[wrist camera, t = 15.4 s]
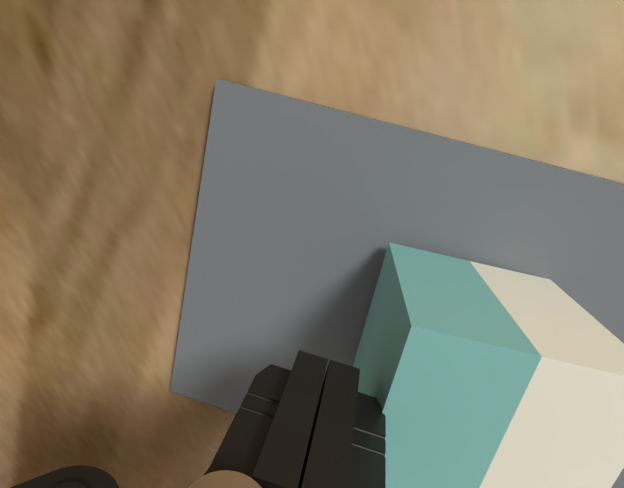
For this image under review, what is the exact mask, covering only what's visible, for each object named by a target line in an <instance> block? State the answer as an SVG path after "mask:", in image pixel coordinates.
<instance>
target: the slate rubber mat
mask: <svg viewBox="0 0 624 488" xmlns="http://www.w3.org/2000/svg"><path fill="white" fill-rule="evenodd" d="M389 242H390V243H394V244H398V245H403V246H407V247H411V248H416V249H420V250H424V251H429V252H433V253H437V254H442V255H446V256H450V257H455V258H459V259H463V260H468V261H472V262H476V263H481V264H485V265H489V266H494V267H498V268H502V269H507V270H511V271H515V272H520V273H524V274H528V275H533V276H537V277H541V278H546V279H550V280H551V281H553V282H554V283H555V284H556V285H557V286H558V287H559V288H561V289H562V290H563V291H564V292H565V293H566V294H567V295H569V296H570V297H571V298H572V299H573V300H574V301H575V302H577V303H578V304H579V305H580V306H581V307H582V308H584V309H585V310H586V311H587V312H588V313H589V314H590V315H592V316H593V317H594V318H595V319H596V320H597V321H598V322H600V323H601V324H602V325H603V326H604V327H605V328H606V329H608V330H609V331H610V332H611V333H612V334H613V335H614V336H616V337H617V338H618V339H619V340H620V341H621V342H622V343H624V184H623V183H619V182H615V181H612V180H608V179H604V178H600V177H596V176H592V175H588V174H584V173H581V172H577V171H573V170H569V169H565V168H561V167H557V166H554V165H550V164H546V163H542V162H538V161H534V160H530V159H526V158H523V157H519V156H515V155H511V154H507V153H503V152H499V151H496V150H492V149H488V148H484V147H480V146H476V145H472V144H468V143H465V142H461V141H457V140H453V139H449V138H445V137H441V136H438V135H434V134H430V133H426V132H422V131H418V130H414V129H410V128H407V127H403V126H399V125H395V124H391V123H387V122H383V121H379V120H376V119H372V118H368V117H364V116H360V115H356V114H352V113H349V112H345V111H341V110H337V109H333V108H329V107H325V106H321V105H318V104H314V103H310V102H306V101H302V100H298V99H294V98H291V97H287V96H283V95H279V94H275V93H271V92H267V91H263V90H260V89H256V88H252V87H248V86H244V85H240V84H236V83H233V82H229V81H225V80H221V79H216V83H215V90H214V96H213V103H212V110H211V117H210V123H209V130H208V137H207V144H206V151H205V157H204V164H203V171H202V178H201V184H200V191H199V198H198V205H197V212H196V218H195V225H194V232H193V239H192V245H191V252H190V259H189V266H188V273H187V279H186V286H185V293H184V300H183V306H182V313H181V320H180V327H179V334H178V340H177V347H176V354H175V361H174V367H173V374H172V381H171V388H170V391H171V392H173V393H176V394H179V395H182V396H185V397H188V398H191V399H194V400H197V401H200V402H203V403H206V404H209V405H211V406H214V407H217V408H220V409H223V410H226V411H229V412H232V413H235V414H236V413H237V411H238V409H239V408H240V406H241V403H242V401H243V399H244V397H245V395H246V394H247V392H248V389H249V387H250V385H251V383H252V381H253V379H254V377H255V375H256V374H258V373H259V372H261V371H262V370H263V369H265V368H266V367H268V366H269V365H270V364H272V365H276V366H279V367H282V368H285V369H288V370H292V367H293V364H294V362H295V359H296V356H297V354H298V351H299V350H301V351H305V352H308V353H311V354H314V355H317V356H320V357H324V358H327V359H328V362H327V366H326V370H327V367H328V364H329V361H330V360H333V361H337V362H340V363H343V364H346V365H349V366H352V367H353V364H354V360H355V357H356V353H357V350H358V346H359V343H360V340H361V336H362V333H363V329H364V326H365V323H366V319H367V316H368V312H369V309H370V305H371V302H372V299H373V295H374V292H375V288H376V285H377V281H378V278H379V275H380V271H381V268H382V264H383V261H384V258H385V254H386V251H387V247H388V244H389ZM325 373H326V371H325ZM324 377H325V375H324ZM323 380H324V379H323ZM611 488H624V468H623V470H622V471H621V473H620V474H619V476H618V478H617V479H616V481H615V482H614V484H613V486H612V487H611Z"/></svg>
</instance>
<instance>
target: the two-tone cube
mask: <svg viewBox="0 0 624 488" xmlns="http://www.w3.org/2000/svg"><path fill="white" fill-rule="evenodd" d="M353 367H356V368H359V369H360V375H359V385H358V392H360V393H363V394H366V395H370V396H373V397H376V398H377V400H378V402H379V404H380V406H381V408H382V413H383V414H385V417H386V437H385V440H386V453H385V457H386V477H385V488H611V487H612V486H613V484H614V482H615V481H616V479H617V478H618V476H619V474H620V473H621V471H622V470H623V468H624V343H622V342H621V341H620V340H619V339H618V338H617V337H616V336H614V335H613V334H612V333H611V332H610V331H609V330H608V329H606V328H605V327H604V326H603V325H602V324H601V323H600V322H598V321H597V320H596V319H595V318H594V317H593V316H592V315H590V314H589V313H588V312H587V311H586V310H585V309H584V308H582V307H581V306H580V305H579V304H578V303H577V302H575V301H574V300H573V299H572V298H571V297H570V296H569V295H567V294H566V293H565V292H564V291H563V290H562V289H561V288H559V287H558V286H557V285H556V284H555V283H554V282H553V281H551V280H550V279H546V278H541V277H537V276H533V275H528V274H524V273H520V272H515V271H511V270H507V269H502V268H498V267H494V266H489V265H485V264H481V263H476V262H472V261H468V260H463V259H459V258H455V257H450V256H446V255H442V254H437V253H433V252H429V251H424V250H420V249H416V248H411V247H407V246H403V245H398V244H394V243H390V242H389V244H388V247H387V251H386V254H385V258H384V261H383V264H382V268H381V271H380V275H379V278H378V281H377V285H376V288H375V292H374V295H373V299H372V302H371V305H370V309H369V312H368V316H367V319H366V323H365V326H364V329H363V333H362V336H361V340H360V343H359V346H358V350H357V353H356V357H355V360H354V364H353Z"/></svg>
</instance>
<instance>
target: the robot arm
mask: <svg viewBox="0 0 624 488" xmlns="http://www.w3.org/2000/svg"><path fill="white" fill-rule="evenodd" d="M327 362H328V359H327V358H324V357H320V356H317V355H314V354H311V353H308V352H305V351H301V350H299V351H298V354H297V356H296V359H295V362H294V364H293V367H292V370H288V369H285V368H282V367H279V366H276V365H272V364H270V365H269V366H268V367H266V368H265V369H263V370H262V371H261V372H259V373H258V374H256V375H255V377H254V379H253V381H252V383H251V385H250V387H249V389H248V392H247V394H246V395H245V397H244V399H243V401H242V403H241V406H240V408H239V409H238V411H237V413H236V415H235V417H234V419H233V421H232V423H231V425H230V427H229V429H228V431H227V433H226V435H225V437H224V439H223V441H222V443H221V445H220V447H219V449H218V451H217V453H216V455H215V457H214V459H213V461H212V463H211V465H210V467H209V469H208V470H207V472H206V473H205V474H204V475H203V476H201V477H200V478H198V479H197V480H195V481H194V482H193V483H192V484H191V485H190V486H189V487H188V488H385V477H386V457H385V453H386V440H385V437H386V417H385V414H383V413H382V408H381V406H380V404H379V402H378V400H377V398H376V397H373V396H370V395H366V394H363V393H360V392H358V385H359V375H360V369H359V368H356V367H352V366H349V365H346V364H343V363H340V362H337V361H333V360H330V361H329V364H328V367H327V370H326V366H327ZM325 371H326V373H325ZM324 375H325V377H324ZM323 379H324V380H323ZM11 488H119V486H118V484H117V483H116V481H115V479H114V478H113V477H112V476H111V475H110V474H108V473H107V472H105V471H103V470H101V469H99V468H95V467H91V466H71V467H65V468H61V469H58V470H55V471H52V472H50V473H47V474H44V475H42V476H39V477H37V478H34V479H32V480H29V481H26V482H24V483H21V484H19V485H16V486H13V487H11Z"/></svg>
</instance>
